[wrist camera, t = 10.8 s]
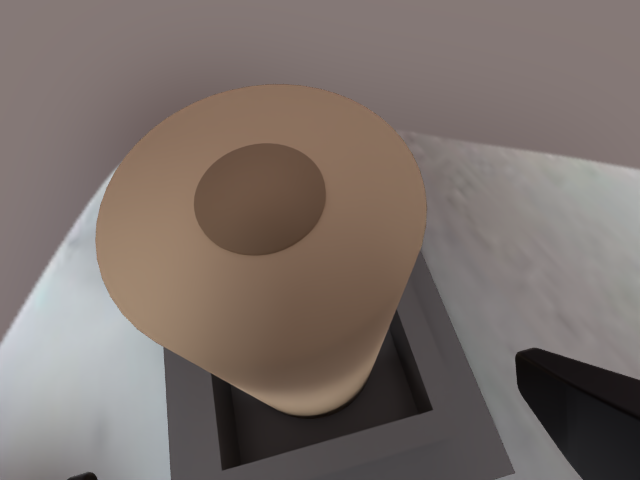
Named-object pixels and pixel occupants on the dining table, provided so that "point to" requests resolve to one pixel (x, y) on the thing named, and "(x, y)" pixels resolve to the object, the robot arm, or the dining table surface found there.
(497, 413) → the dining table surface
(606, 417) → the robot arm
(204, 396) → the roll caddy
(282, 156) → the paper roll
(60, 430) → the dining table surface
